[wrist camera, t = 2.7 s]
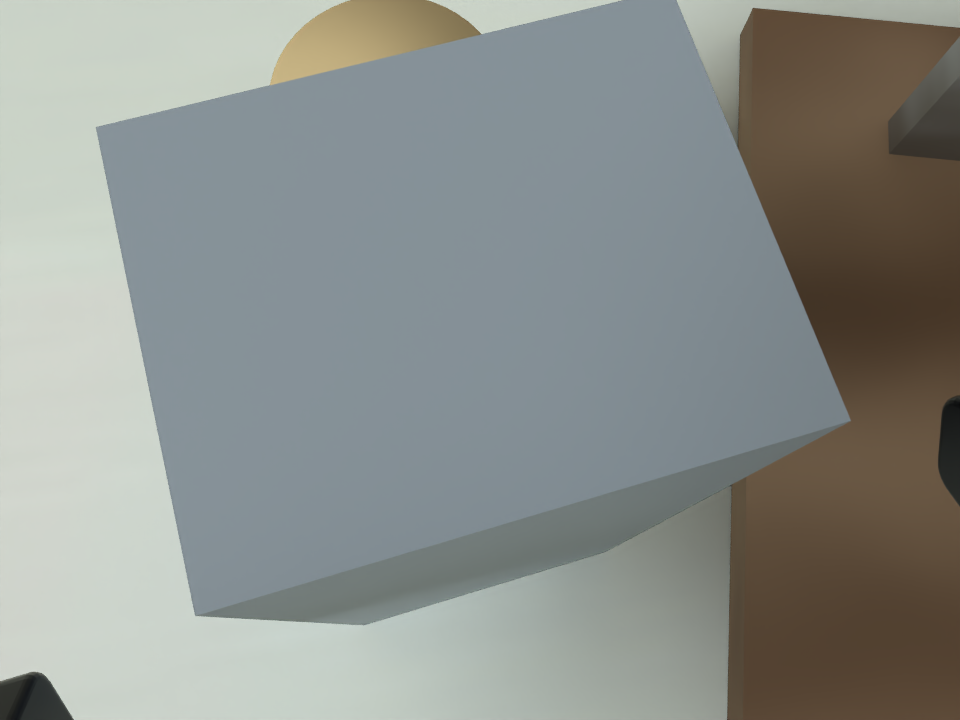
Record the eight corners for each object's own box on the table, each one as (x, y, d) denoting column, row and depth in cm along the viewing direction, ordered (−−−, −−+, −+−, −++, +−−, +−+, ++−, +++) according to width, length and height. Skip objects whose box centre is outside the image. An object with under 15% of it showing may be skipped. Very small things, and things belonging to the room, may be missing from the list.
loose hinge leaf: (606, 551, 18) (850, 420, 7) (364, 625, 18) (194, 615, 6) (520, 290, 20) (604, -171, 8) (295, 351, 19) (60, -51, 8)
